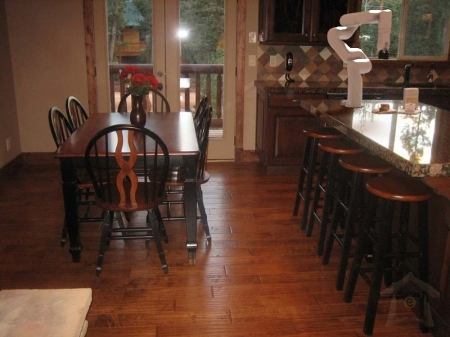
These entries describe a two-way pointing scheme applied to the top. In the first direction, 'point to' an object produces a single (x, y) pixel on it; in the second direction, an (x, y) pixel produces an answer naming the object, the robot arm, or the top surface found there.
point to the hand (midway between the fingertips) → (383, 59)
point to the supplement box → (410, 96)
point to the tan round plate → (384, 109)
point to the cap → (409, 107)
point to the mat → (409, 112)
